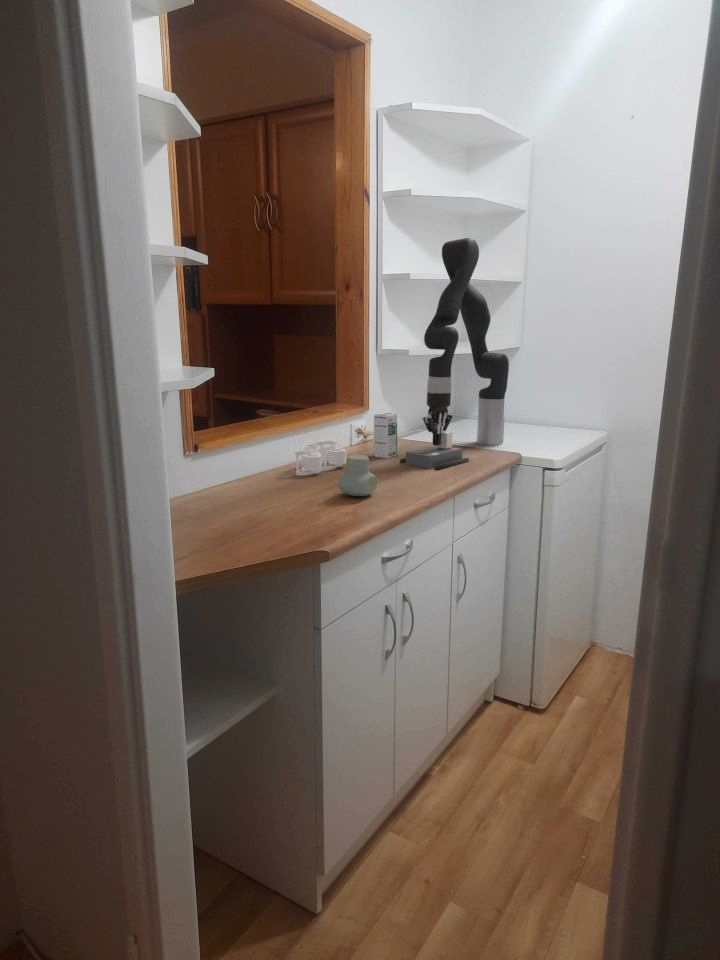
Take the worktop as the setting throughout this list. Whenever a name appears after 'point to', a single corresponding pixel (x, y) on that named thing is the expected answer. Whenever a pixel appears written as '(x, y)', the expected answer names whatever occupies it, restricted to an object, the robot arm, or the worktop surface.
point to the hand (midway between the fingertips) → (436, 445)
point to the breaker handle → (446, 440)
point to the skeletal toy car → (319, 457)
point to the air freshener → (357, 477)
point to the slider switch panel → (444, 463)
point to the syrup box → (385, 435)
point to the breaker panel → (433, 456)
